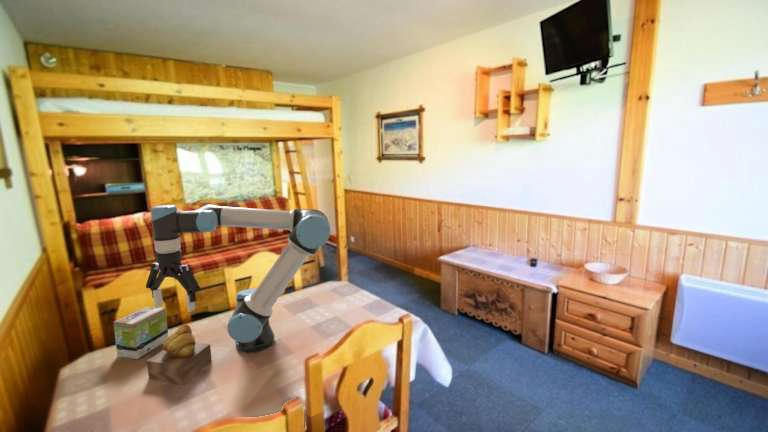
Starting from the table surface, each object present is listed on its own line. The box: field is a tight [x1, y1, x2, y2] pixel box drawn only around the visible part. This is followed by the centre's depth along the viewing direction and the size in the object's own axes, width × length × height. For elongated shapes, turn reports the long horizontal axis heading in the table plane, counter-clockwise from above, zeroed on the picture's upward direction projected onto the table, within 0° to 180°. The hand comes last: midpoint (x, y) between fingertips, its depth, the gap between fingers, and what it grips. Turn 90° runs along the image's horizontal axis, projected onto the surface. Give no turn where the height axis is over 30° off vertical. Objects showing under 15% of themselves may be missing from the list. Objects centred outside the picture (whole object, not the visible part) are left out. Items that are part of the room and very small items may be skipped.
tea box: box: [113, 305, 169, 360], centre depth 138 cm, size 15×10×15 cm
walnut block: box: [146, 341, 212, 386], centre depth 125 cm, size 14×14×7 cm
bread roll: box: [162, 324, 196, 357], centre depth 123 cm, size 13×10×8 cm
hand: (175, 308), depth 121 cm, fingers open, 13 cm apart
